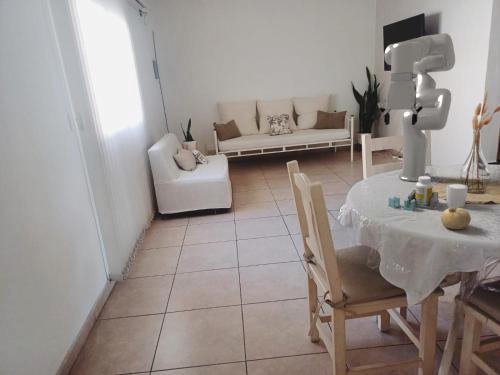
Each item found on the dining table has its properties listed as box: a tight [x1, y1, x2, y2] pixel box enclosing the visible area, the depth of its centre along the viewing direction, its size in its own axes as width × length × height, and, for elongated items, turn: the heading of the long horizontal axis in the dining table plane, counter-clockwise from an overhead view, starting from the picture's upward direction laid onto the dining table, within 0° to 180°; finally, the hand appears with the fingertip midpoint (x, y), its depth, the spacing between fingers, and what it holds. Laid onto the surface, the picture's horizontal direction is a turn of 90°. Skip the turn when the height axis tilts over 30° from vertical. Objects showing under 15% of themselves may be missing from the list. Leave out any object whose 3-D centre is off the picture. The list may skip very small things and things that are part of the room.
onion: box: [440, 206, 471, 230], centre depth 110 cm, size 8×8×7 cm
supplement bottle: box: [415, 176, 433, 205], centre depth 129 cm, size 5×5×10 cm
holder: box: [407, 189, 439, 211], centre depth 131 cm, size 9×9×4 cm
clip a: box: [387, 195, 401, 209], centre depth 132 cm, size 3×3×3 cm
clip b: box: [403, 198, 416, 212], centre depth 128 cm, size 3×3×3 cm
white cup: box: [445, 183, 469, 208], centre depth 127 cm, size 7×7×7 cm
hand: (400, 124), depth 136 cm, fingers open, 9 cm apart
